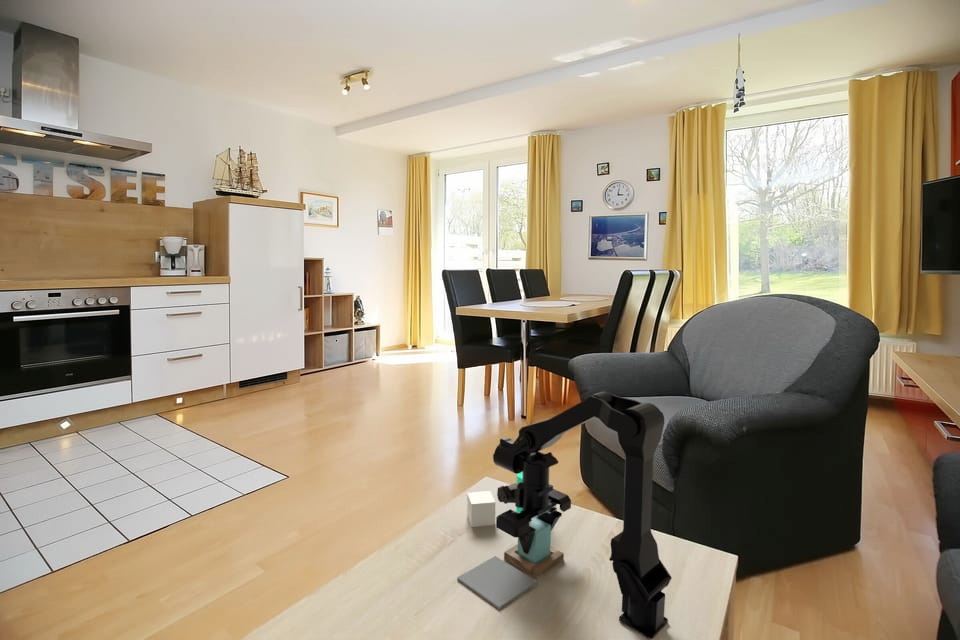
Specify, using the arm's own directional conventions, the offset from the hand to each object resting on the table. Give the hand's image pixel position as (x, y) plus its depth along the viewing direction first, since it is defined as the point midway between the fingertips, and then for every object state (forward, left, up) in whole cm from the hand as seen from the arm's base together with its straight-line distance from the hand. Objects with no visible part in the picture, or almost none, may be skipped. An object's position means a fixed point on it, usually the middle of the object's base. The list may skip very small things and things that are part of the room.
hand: (534, 548), depth 109 cm
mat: (0, +11, -2) cm, 12 cm away
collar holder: (0, 0, -2) cm, 2 cm away
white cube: (+20, -3, -3) cm, 20 cm away
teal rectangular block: (0, 0, -2) cm, 2 cm away
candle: (+14, -14, -3) cm, 20 cm away
